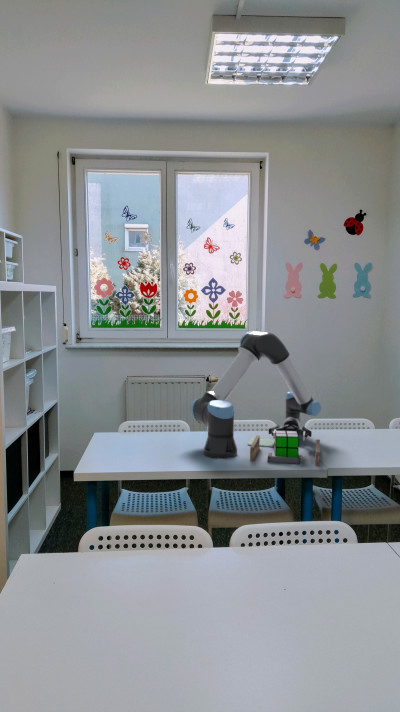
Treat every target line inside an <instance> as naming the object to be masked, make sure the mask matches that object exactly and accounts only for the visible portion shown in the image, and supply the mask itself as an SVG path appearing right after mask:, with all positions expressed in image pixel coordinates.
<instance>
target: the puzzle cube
mask: <svg viewBox="0 0 400 712" xmlns="http://www.w3.org/2000/svg"><path fill="white" fill-rule="evenodd" d="M299 438H300V437H299V434H297V432H296V431H275V443H274V446H273V448H274V449H273V450H274V456H279V457H292V458H298V456H299V455H300V454H299V451H300V450H299V447H300V445H299V443H300V439H299Z"/></svg>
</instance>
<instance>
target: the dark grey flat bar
mask: <svg viewBox="0 0 400 712" xmlns="http://www.w3.org/2000/svg"><path fill="white" fill-rule="evenodd" d="M266 461H267V463H275V464H287V465H296V466H297V465H298V466H301V465H302V455H301V454H298V458H292V457H279V456H275V455H272V452H268V455H267V460H266Z"/></svg>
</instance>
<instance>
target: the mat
mask: <svg viewBox="0 0 400 712" xmlns="http://www.w3.org/2000/svg"><path fill="white" fill-rule="evenodd" d="M254 439H255V437H251V438H250V439H249V441H248V443H247V446H249V447H251V445H252V443H253V441H254ZM274 445H275V439H273V438H260V443H259V447H263V448H264V447H265V448H274Z"/></svg>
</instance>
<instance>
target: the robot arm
mask: <svg viewBox="0 0 400 712" xmlns="http://www.w3.org/2000/svg"><path fill="white" fill-rule="evenodd" d="M237 349H238V354H237V355H236V357H234V358H233V360H232V361H231V363H230V364H229V365H228V367H227V368H226V370H225V371H224V372H223V373H222V375H221V376H220V378H219V379H218V380H217V382H216V383H215V384H214V386H213V387H212V389H210V390H209V391H206V392H204V394H203V395H202V396H201V397H198V398H196V399H194V400H193V402H192V404H191V406H190V415H191V417H192V418H193V419H194V420H195V421H196V422H197V423H198V424H200V425H204V426H207V437H206V441H205V444H204V447H203V454H204V456H206V457H209V458H212V459H214V458H215V459H228V458H229V459H230V458H233V457H235V456H237V455H238V448H237V447H238V446H237V444H236V441H235V438H234V432H235V431H234V428H235V425H234V424H235V423H234V422H235V409H234V408H235V407H234V405H233V404H232V403H231V402H230V401H228V398H229V397H230V395H232V393H233V391H234V390H235V388H236V387H237V386H238V385H239V383H240V382H241V381H242V379H243V377H245V375H246V374H247V372H248V371H249V369H250V368H251V367H252V366H253V364H257V363H258V362H259V361H260V360H261V358H262V357H264V358H266V359H268V360H269V361H270V364H271V365H274V367H276V369H277V371H278V372H279V374H280V376H281V378H282V380H283V381H284V382H285V384H286V386H287V388H288V389H289V390H290V391H287V392H286V395H285V417H284V419H285V420H284V424H283V425H282V426H280V425H279V424H276V425H275V426H273V427H269V428H268V435H271V436H272V439H275V431H296V432H297V434H298V435H300V436H302V441H303V442H304V441H305V439H306V438H308V437H309V438H311V437H312V431H311V430H310V429H308V428H306V427H305V426H301V427H300V424H301V414H304V415H307V416H310V417H316V416H318V415H319V414H320V413H321V411H322V406H321V403H320V402H318V401H317V400H315V399H314V398H313V396H312V395H311V393H310V391H309V390H308V388H307V386H306V384H305V383H304V381H303V379H302V377H301V376H300V374H299V372H298V370H297V369H296V368H295V367H296V366H295V365H294V363H293V361H292V360H291V358H290V353H289V351H288V349H287V347H286V345H285V344H284V342H282V340H281V339H280V338H279V337H278V336H277V335H276V334H274V333H272V332H266V331H259V330H250V331H247V332H245V333H244V334H243V335H242V336H241V339H240V341H239V347H238V348H237Z"/></svg>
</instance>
